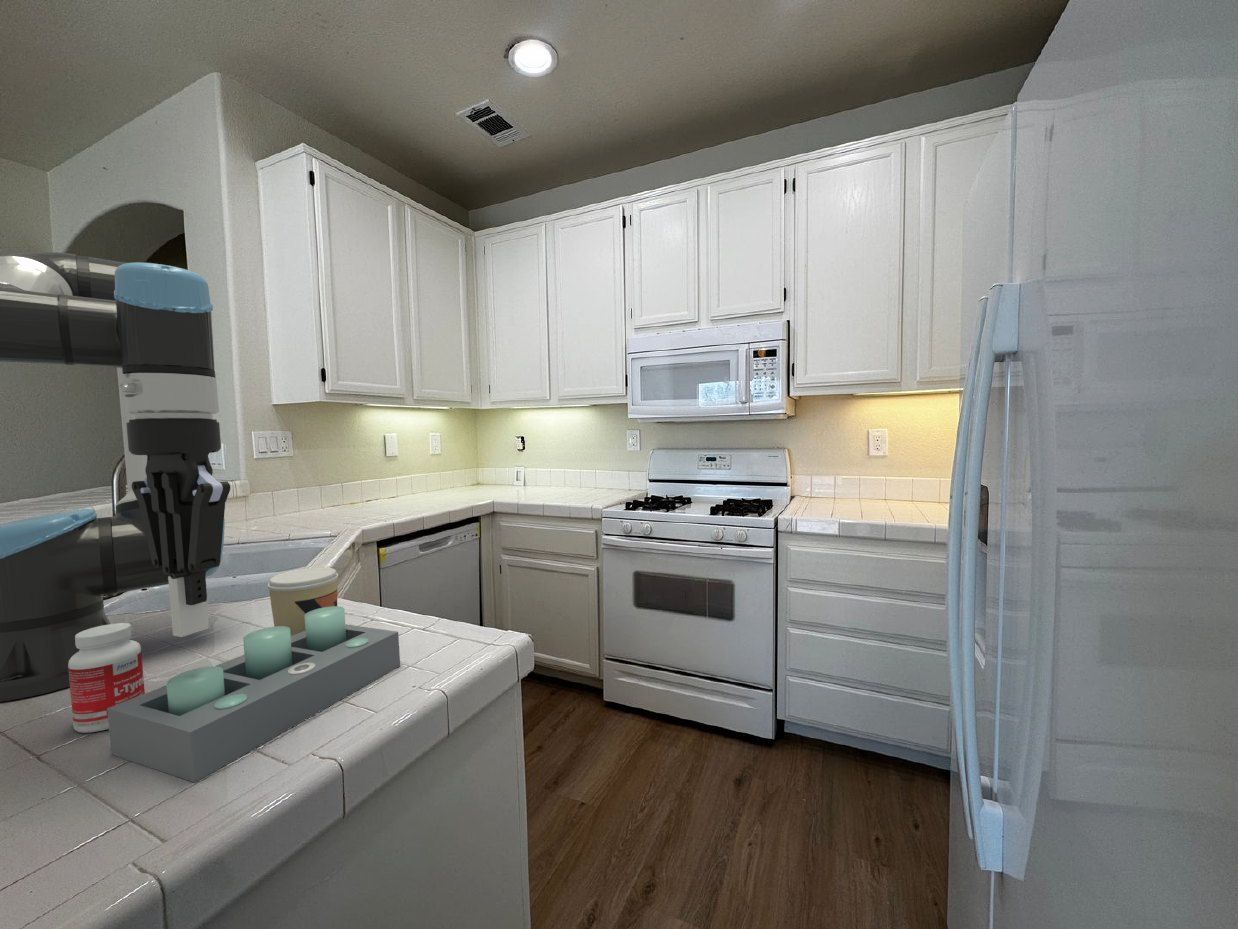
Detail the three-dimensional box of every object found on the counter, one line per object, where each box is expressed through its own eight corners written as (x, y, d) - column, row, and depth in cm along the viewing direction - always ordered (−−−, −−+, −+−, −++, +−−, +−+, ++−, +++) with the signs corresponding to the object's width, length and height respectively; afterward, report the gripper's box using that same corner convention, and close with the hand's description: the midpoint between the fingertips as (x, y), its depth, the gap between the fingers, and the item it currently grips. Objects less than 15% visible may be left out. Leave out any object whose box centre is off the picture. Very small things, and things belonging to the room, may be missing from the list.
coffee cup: (308, 665, 74) (303, 584, 74) (256, 660, 76) (251, 582, 76) (355, 640, 83) (351, 567, 83) (307, 636, 85) (303, 565, 85)
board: (111, 754, 54) (107, 706, 54) (329, 653, 78) (327, 620, 78) (194, 782, 49) (190, 730, 49) (400, 665, 73) (398, 630, 73)
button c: (298, 652, 70) (296, 616, 69) (329, 638, 74) (327, 605, 74) (324, 656, 68) (321, 619, 68) (354, 642, 72) (352, 608, 72)
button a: (159, 728, 55) (155, 683, 55) (209, 705, 59) (205, 664, 59) (187, 736, 53) (183, 689, 53) (236, 712, 58) (232, 669, 57)
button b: (236, 678, 62) (233, 638, 62) (275, 662, 67) (273, 624, 66) (263, 684, 61) (260, 643, 60) (301, 666, 65) (298, 628, 65)
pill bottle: (123, 730, 59) (114, 636, 58) (58, 739, 57) (49, 642, 57) (158, 703, 65) (151, 617, 64) (100, 710, 63) (92, 623, 63)
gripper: (94, 418, 53) (113, 637, 55) (170, 414, 49) (189, 654, 50) (177, 418, 60) (192, 613, 62) (251, 416, 56) (265, 626, 57)
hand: (191, 631), depth 56 cm, fingers closed
